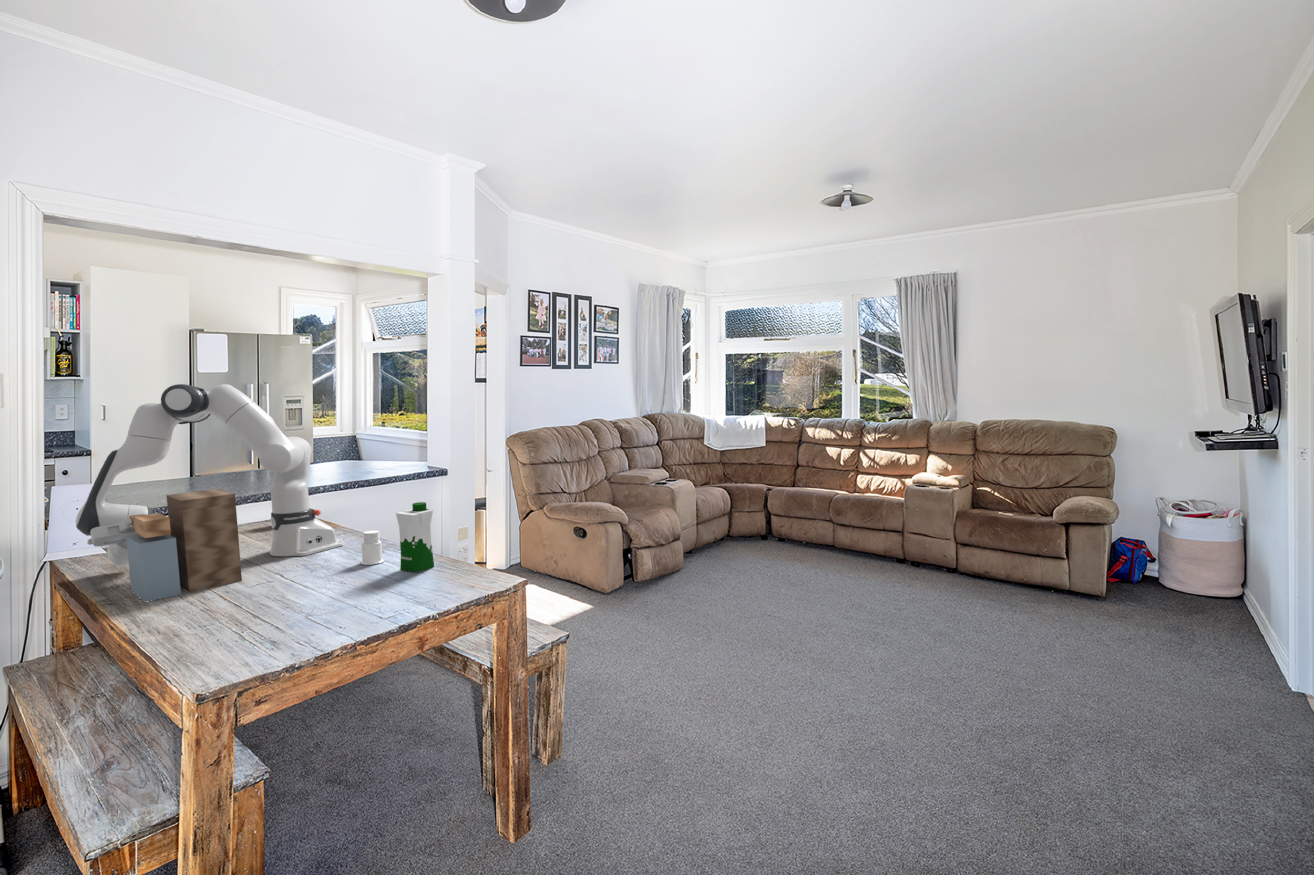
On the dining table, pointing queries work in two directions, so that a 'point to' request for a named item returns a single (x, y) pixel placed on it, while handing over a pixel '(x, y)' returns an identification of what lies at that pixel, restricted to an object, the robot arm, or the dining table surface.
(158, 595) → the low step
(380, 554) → the white pill bottle
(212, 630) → the dining table surface
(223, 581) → the tall stand
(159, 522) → the brown wooden block
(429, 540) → the milk carton
